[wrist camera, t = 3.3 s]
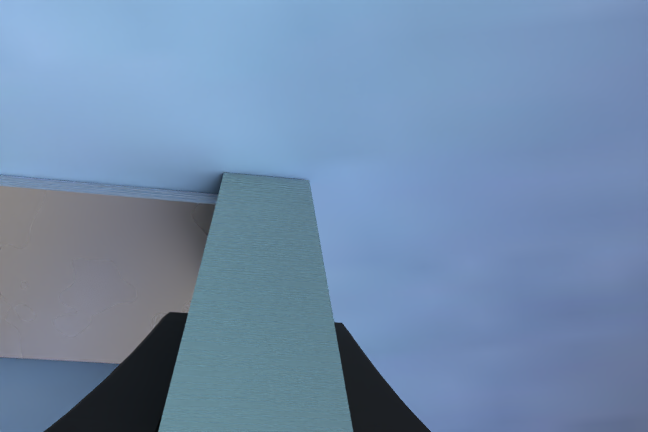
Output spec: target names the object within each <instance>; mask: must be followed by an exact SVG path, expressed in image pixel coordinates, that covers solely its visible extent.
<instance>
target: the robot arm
mask: <svg viewBox="0 0 648 432" xmlns="http://www.w3.org/2000/svg"><path fill="white" fill-rule="evenodd" d="M187 316H188V313H180V312H169V313H168V314H166V315H165V316H164V317H163V318H162V319H161V320H160V321H159V322H158V324H157V325H156V326H155V327H154V328H153V330H152V331H151V332H150V333H149V334H148V335H147V336H146V338H145V339H144V340H143V341H142V342H141V343H140V344H139V345H138V346H137V347H136V348H135V350H134V351H133V352H132V353H131V354H130V355H129V356H128V357H127V358H126V359H125V360H124V361H123V362H122V363H121V364H120V365H119V366H118V367H117V368H116V369H115V370H114V371H113V372H112V373H111V374H110V375H109V376H108V377H107V378H106V379H105V380H104V381H103V382H102V383H100V384H99V385H98V386H97V387H96V388H95V389H94V390H93V391H91V392H90V393H89V394H88V395H87V396H86V397H85V398H84V399H82V400H81V401H80V402H79V403H78V404H77V405H76V406H75V407H73V408H72V409H71V410H70V411H69V412H68V413H66V414H65V415H64V416H63V417H62V418H60V419H59V420H58V421H57V422H55V423H54V424H53V425H52V426H50V427H49V428H48V429H47V430H45V431H44V432H158V430H159V427H160V423H161V419H162V415H163V411H164V407H165V403H166V399H167V395H168V391H169V387H170V383H171V379H172V375H173V371H174V367H175V363H176V360H177V356H178V352H179V348H180V344H181V340H182V336H183V332H184V328H185V324H186V320H187ZM334 325H335V331H336V336H337V342H338V348H339V354H340V359H341V365H342V371H343V377H344V382H345V388H346V394H347V399H348V405H349V411H350V417H351V422H352V428H353V432H431V431H430V430H429V429H428V428H427V427H426V426H425V425H424V424H423V423H422V422H421V421H420V420H419V419H418V418H417V417H416V415H415V414H414V413H413V412H412V411H411V410H410V409H409V408H408V407H407V406H406V405H405V403H404V402H403V401H402V400H401V399H400V398H399V396H398V395H397V394H396V393H395V392H394V390H393V389H392V388H391V387H390V386H389V384H388V383H387V382H386V381H385V379H384V378H383V377H382V376H381V375H380V373H379V372H378V371H377V369H376V368H375V367H374V365H373V364H372V363H371V361H370V360H369V359H368V357H367V356H366V355H365V353H364V352H363V351H362V349H361V348H360V347H359V345H358V344H357V342H356V341H355V340H354V338H353V337H352V336H351V334H350V333H349V331H348V330H347V329H346V327H345V326H344V325H343V324H342V323H336V322H334Z"/></svg>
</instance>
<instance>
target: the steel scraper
mask: <svg viewBox="0 0 648 432" xmlns="http://www.w3.org/2000/svg"><path fill="white" fill-rule="evenodd" d="M169 312H180V313H188V316H187V320H186V324H185V328H184V332H183V336H182V340H181V344H180V348H179V352H178V356H177V360H176V363H175V367H174V371H173V375H172V379H171V383H170V387H169V391H168V395H167V399H166V403H165V407H164V411H163V415H162V419H161V423H160V427H159V430H158V432H353V428H352V422H351V417H350V411H349V405H348V399H347V394H346V388H345V382H344V377H343V371H342V365H341V359H340V354H339V348H338V342H337V336H336V331H335V325H334V319H333V313H332V308H331V302H330V296H329V291H328V285H327V279H326V273H325V268H324V262H323V256H322V250H321V245H320V239H319V233H318V228H317V222H316V216H315V210H314V205H313V199H312V193H311V187H310V182H309V180H301V179H290V178H279V177H268V176H258V175H247V174H236V173H225V172H224V174H223V178H222V182H221V186H220V190H219V194H208V193H197V192H186V191H175V190H163V189H152V188H141V187H129V186H118V185H107V184H95V183H84V182H73V181H62V180H50V179H39V178H28V177H16V176H5V175H0V357H6V358H25V359H43V360H61V361H80V362H98V363H116V364H121V363H122V362H123V361H124V360H125V359H126V358H127V357H128V356H129V355H130V354H131V353H132V352H133V351H134V350H135V348H136V347H137V346H138V345H139V344H140V343H141V342H142V341H143V340H144V339H145V338H146V336H147V335H148V334H149V333H150V332H151V331H152V330H153V328H154V327H155V326H156V325H157V324H158V322H159V321H160V320H161V319H162V318H163V317H164V316H165V315H166V314H168V313H169Z"/></svg>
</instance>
